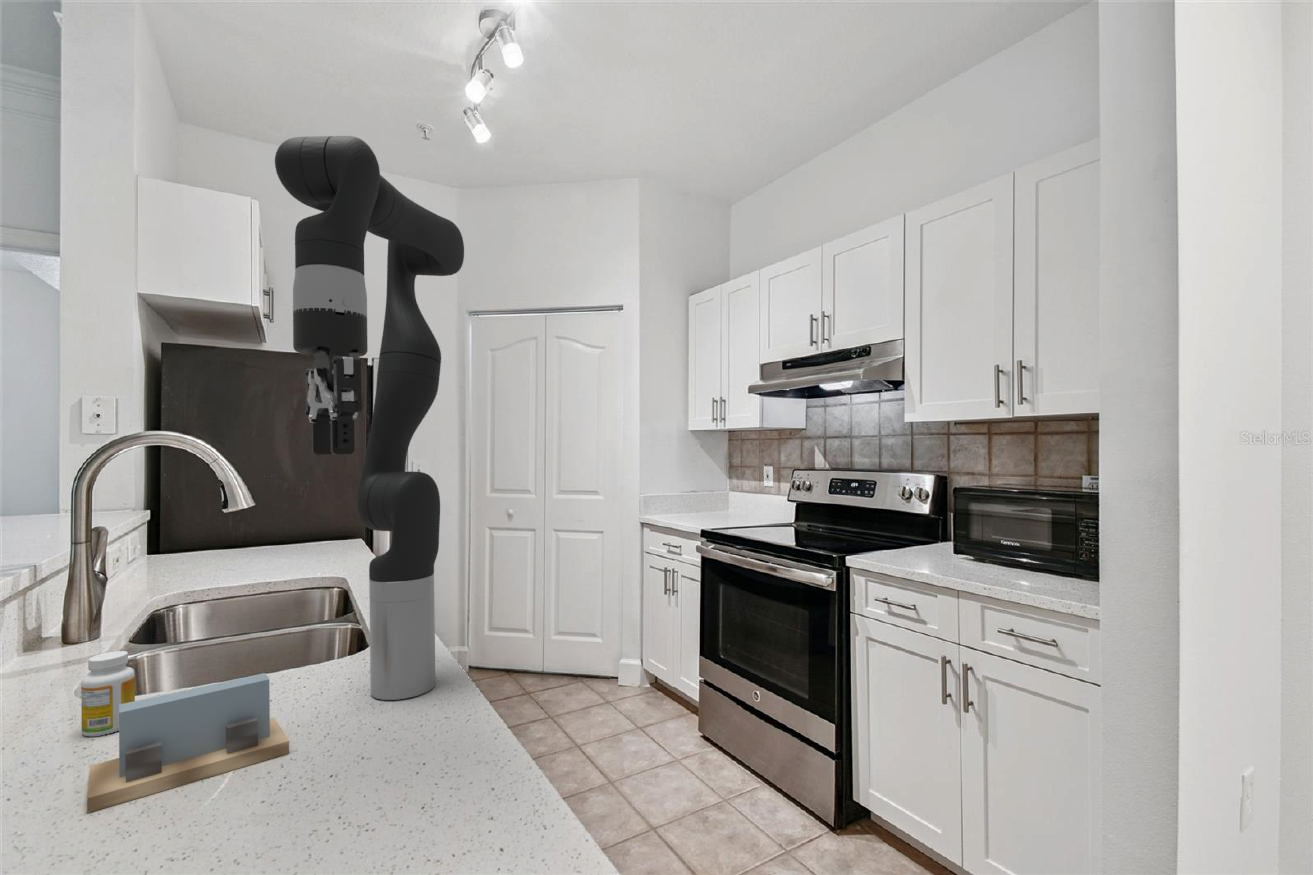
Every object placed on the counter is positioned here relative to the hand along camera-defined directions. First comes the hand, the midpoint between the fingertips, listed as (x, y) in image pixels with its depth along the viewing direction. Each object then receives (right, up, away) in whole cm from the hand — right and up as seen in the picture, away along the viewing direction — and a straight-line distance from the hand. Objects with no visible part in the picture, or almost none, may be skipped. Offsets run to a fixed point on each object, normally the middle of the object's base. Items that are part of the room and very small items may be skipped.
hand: (332, 454), depth 70 cm
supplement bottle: (-37, -37, +13) cm, 54 cm away
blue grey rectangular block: (-17, -35, +2) cm, 39 cm away
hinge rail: (-17, -37, +2) cm, 40 cm away
